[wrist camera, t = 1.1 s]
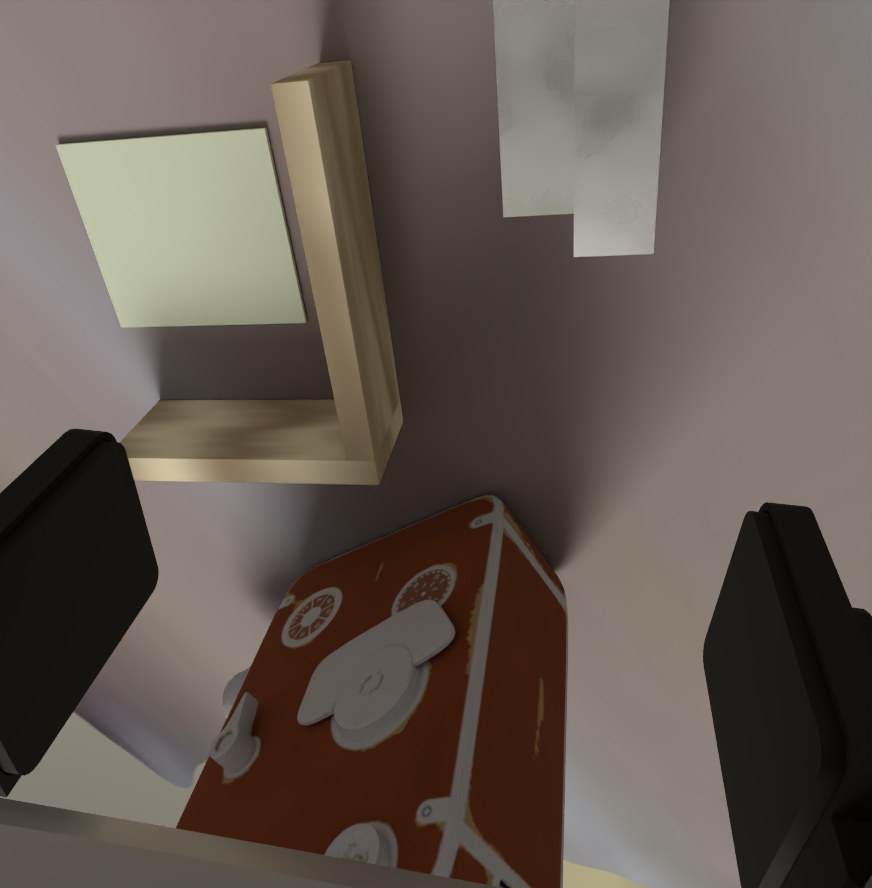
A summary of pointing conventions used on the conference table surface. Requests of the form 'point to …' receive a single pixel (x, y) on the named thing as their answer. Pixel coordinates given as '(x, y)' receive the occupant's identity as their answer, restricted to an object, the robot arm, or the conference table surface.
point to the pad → (188, 228)
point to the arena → (340, 319)
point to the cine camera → (406, 709)
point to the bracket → (583, 115)
